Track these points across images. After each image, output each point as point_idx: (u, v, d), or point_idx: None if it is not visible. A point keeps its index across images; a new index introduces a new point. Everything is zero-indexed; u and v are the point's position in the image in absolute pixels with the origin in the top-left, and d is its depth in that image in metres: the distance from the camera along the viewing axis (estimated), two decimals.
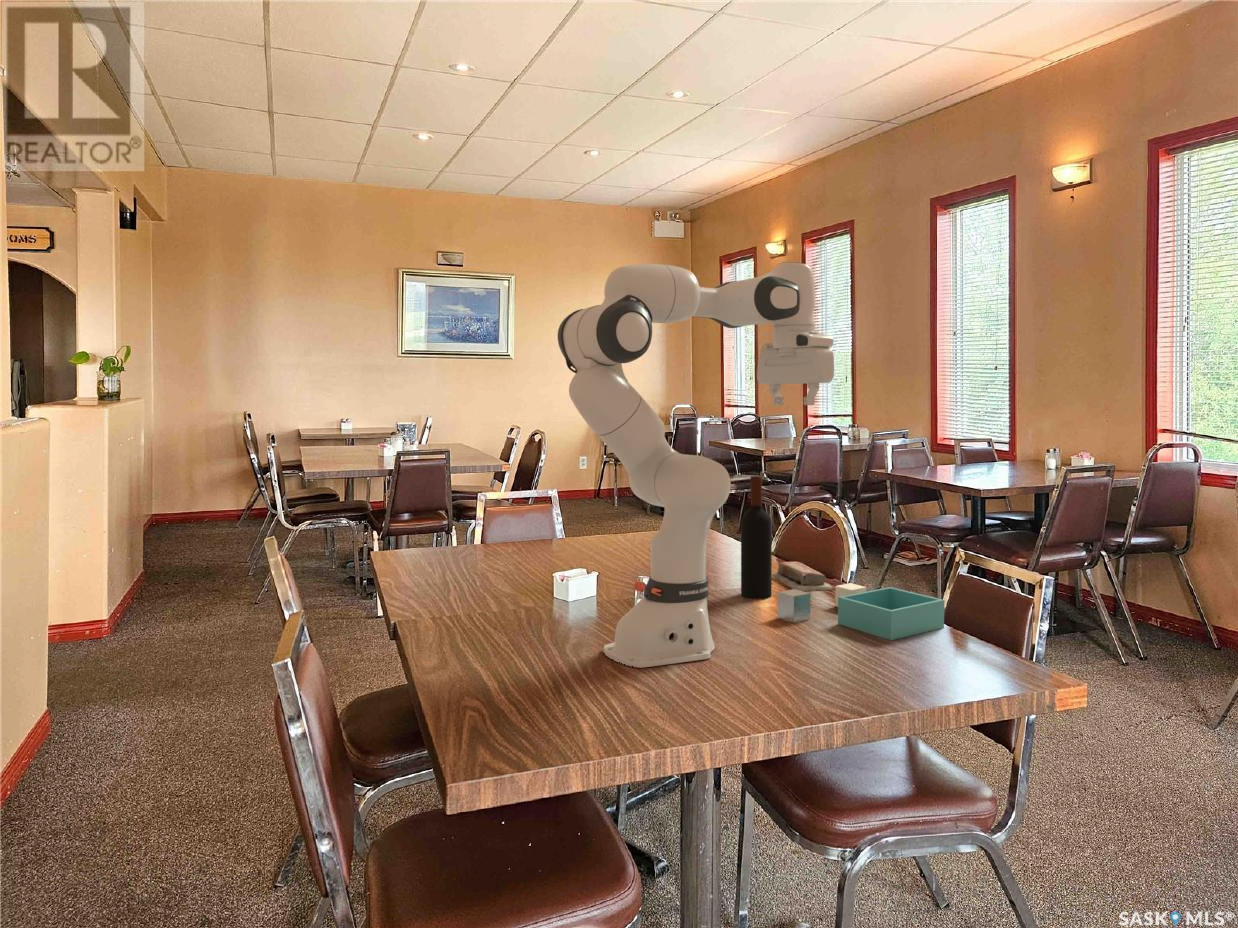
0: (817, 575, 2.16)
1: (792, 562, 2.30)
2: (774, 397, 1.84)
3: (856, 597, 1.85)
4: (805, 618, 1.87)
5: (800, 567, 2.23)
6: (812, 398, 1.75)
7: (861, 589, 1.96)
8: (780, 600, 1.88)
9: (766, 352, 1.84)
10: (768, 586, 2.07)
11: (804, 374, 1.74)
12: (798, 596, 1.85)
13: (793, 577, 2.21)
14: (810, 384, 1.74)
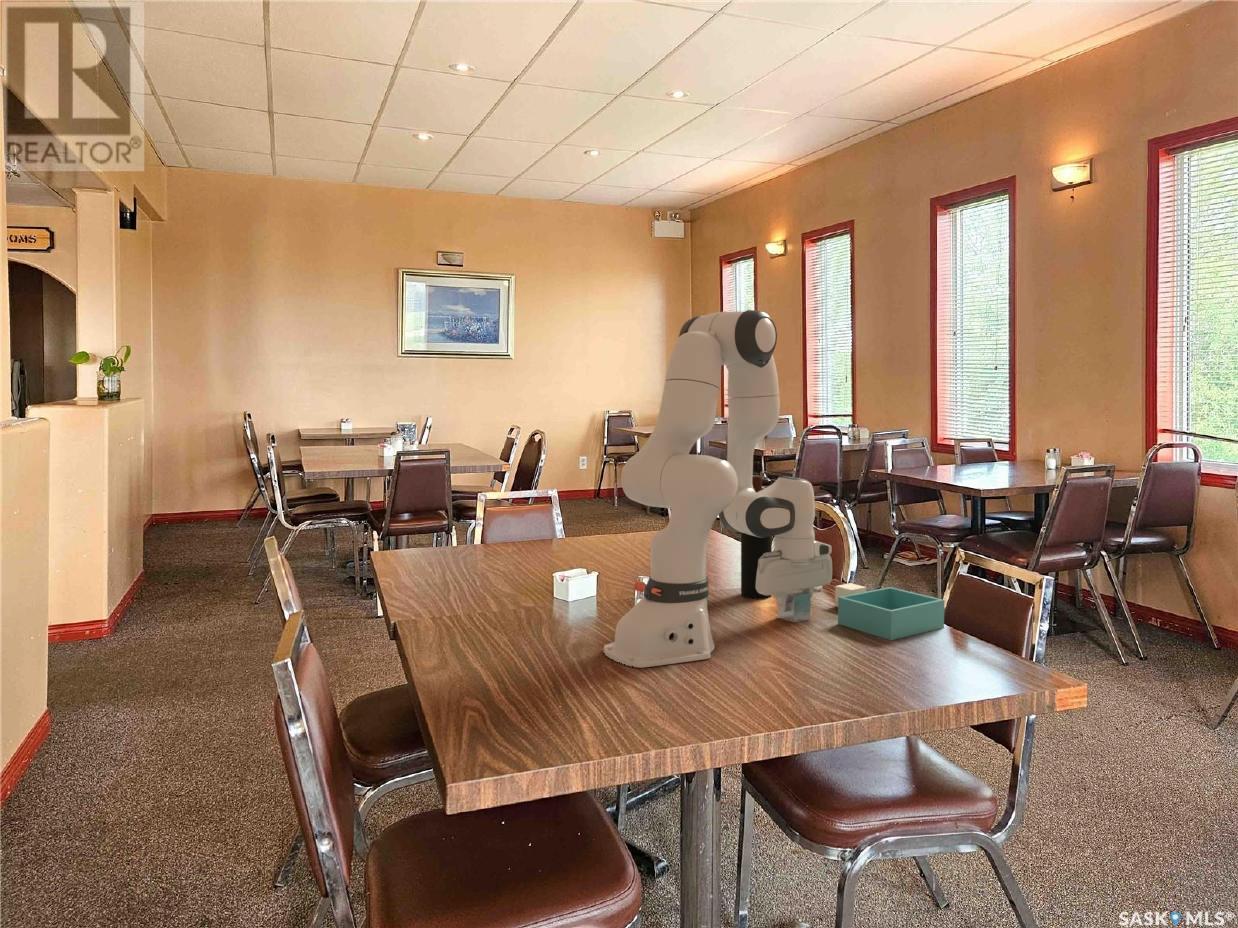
0: None
1: None
2: (785, 604, 1.86)
3: (856, 597, 1.85)
4: (805, 618, 1.87)
5: None
6: None
7: (861, 589, 1.96)
8: None
9: (777, 563, 1.82)
10: None
11: (816, 579, 1.89)
12: (798, 596, 1.85)
13: None
14: (812, 588, 1.89)
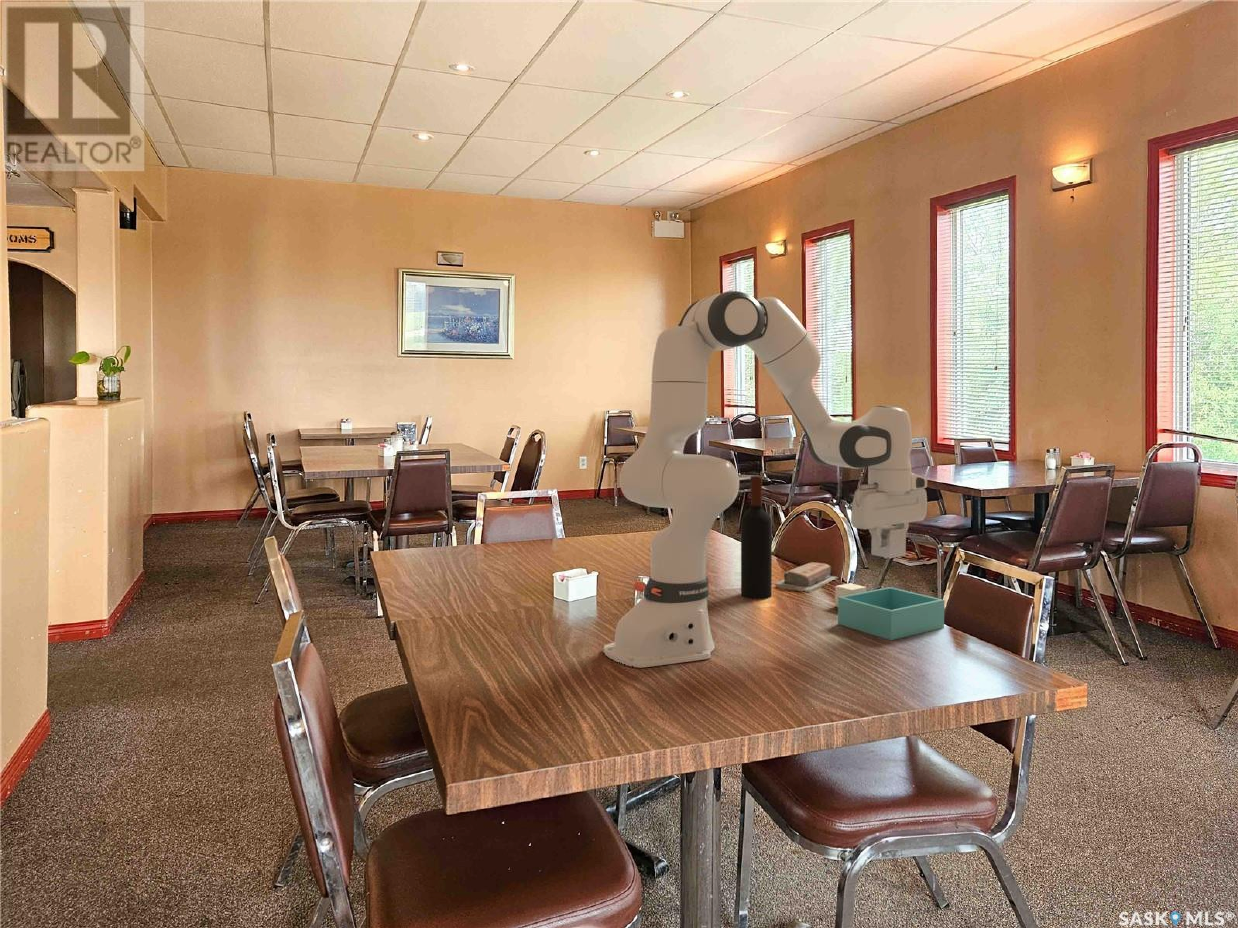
0: (799, 575, 2.16)
1: (819, 563, 2.27)
2: (881, 539, 1.78)
3: (856, 597, 1.85)
4: (901, 554, 1.79)
5: (807, 567, 2.23)
6: None
7: (861, 589, 1.96)
8: None
9: (874, 495, 1.74)
10: (768, 586, 2.07)
11: (912, 514, 1.81)
12: (894, 530, 1.78)
13: None
14: (907, 523, 1.82)
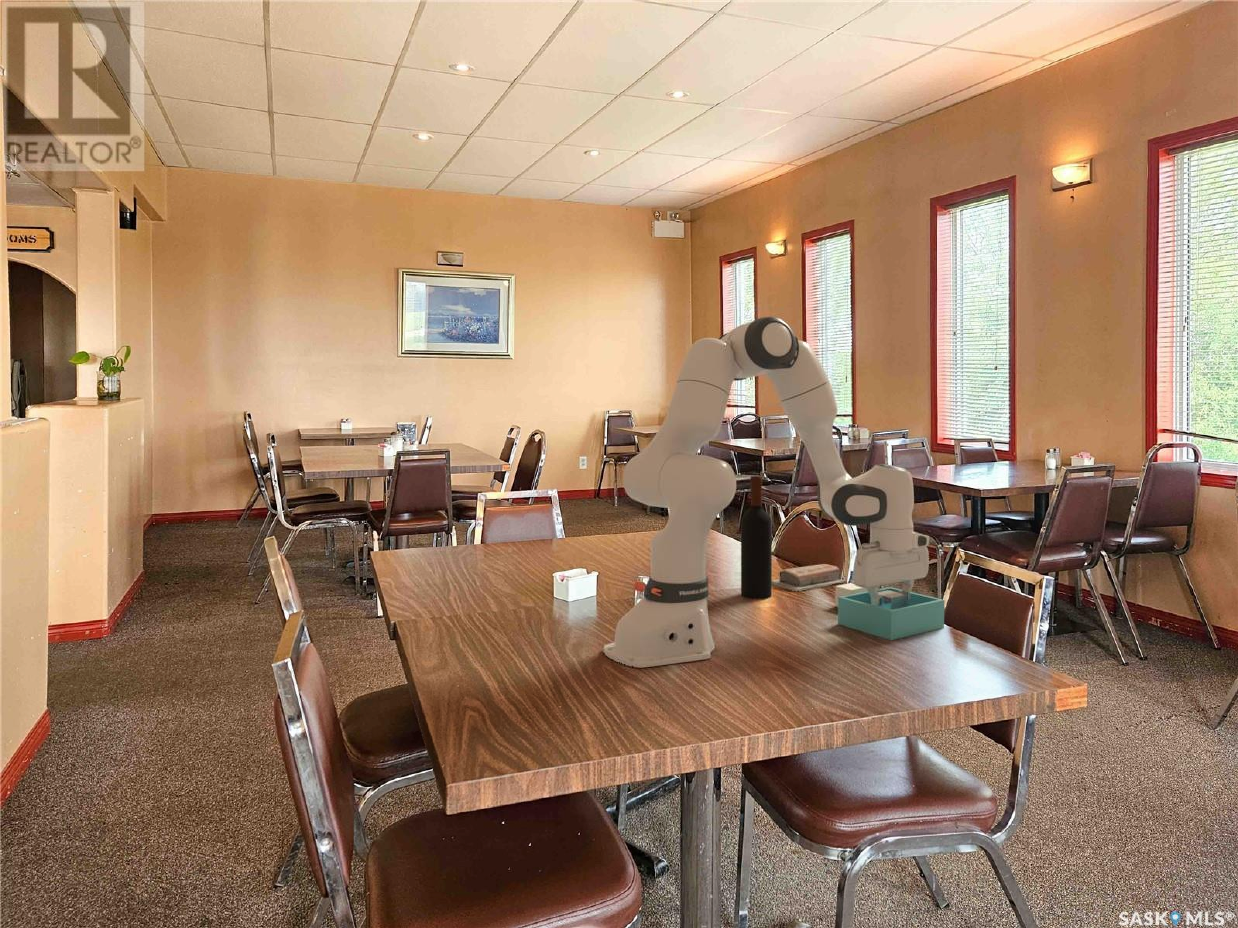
0: (791, 575, 2.17)
1: (828, 565, 2.25)
2: (878, 598, 1.78)
3: (856, 597, 1.85)
4: None
5: (810, 568, 2.22)
6: None
7: (861, 589, 1.96)
8: None
9: (876, 554, 1.75)
10: (768, 586, 2.07)
11: (913, 571, 1.82)
12: (895, 598, 1.78)
13: None
14: (912, 580, 1.83)
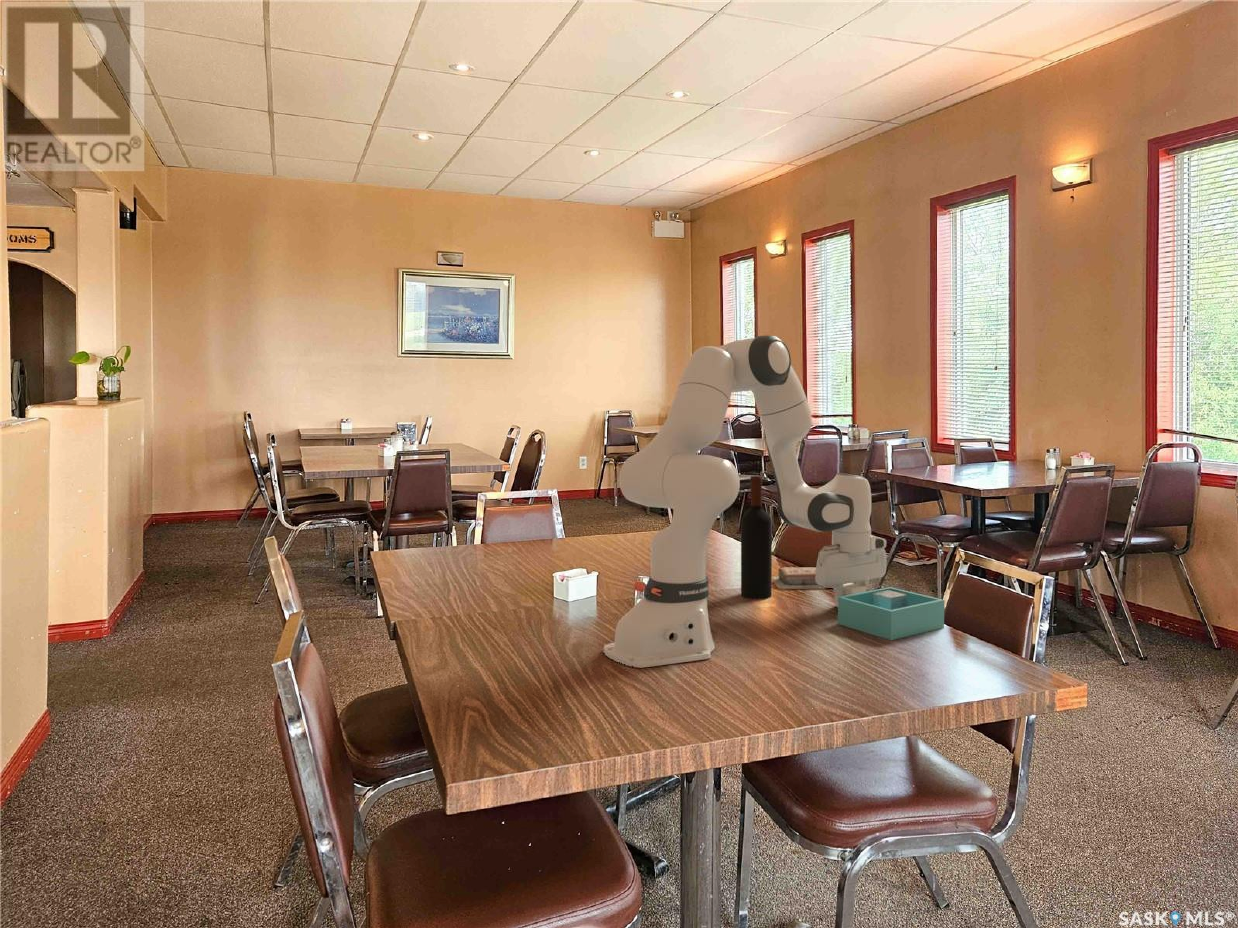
0: (782, 572, 2.19)
1: None
2: (843, 595, 1.95)
3: (856, 597, 1.85)
4: None
5: (811, 569, 2.21)
6: None
7: (861, 589, 1.96)
8: (874, 601, 1.81)
9: (836, 556, 1.92)
10: (768, 586, 2.07)
11: (872, 571, 1.98)
12: (895, 598, 1.78)
13: None
14: (867, 580, 1.99)
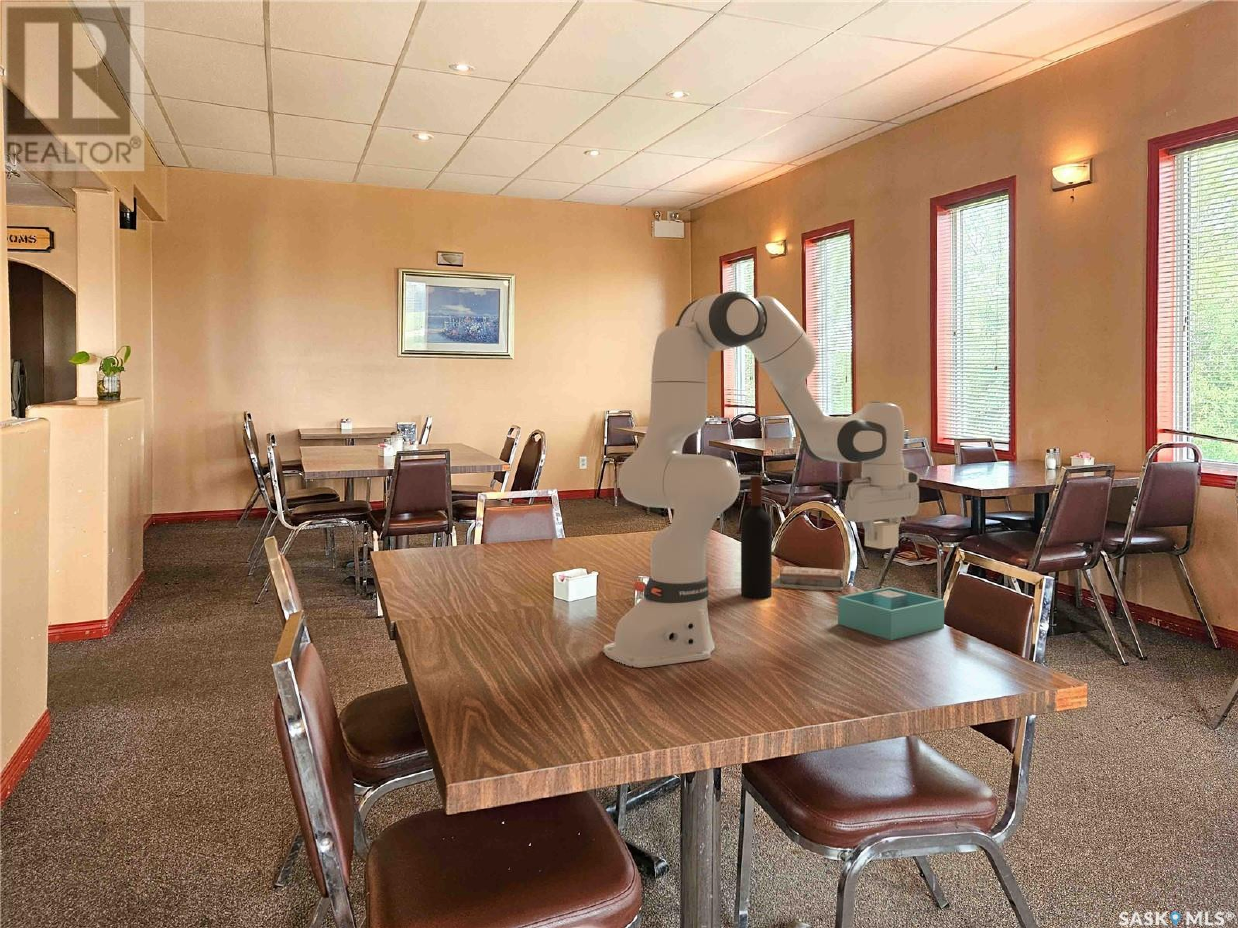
0: (780, 571, 2.21)
1: (835, 571, 2.17)
2: (873, 533, 1.81)
3: (856, 597, 1.85)
4: None
5: (811, 570, 2.20)
6: None
7: (893, 526, 1.82)
8: (874, 601, 1.81)
9: (867, 489, 1.78)
10: (768, 586, 2.07)
11: (904, 508, 1.84)
12: (895, 598, 1.78)
13: None
14: (899, 517, 1.85)
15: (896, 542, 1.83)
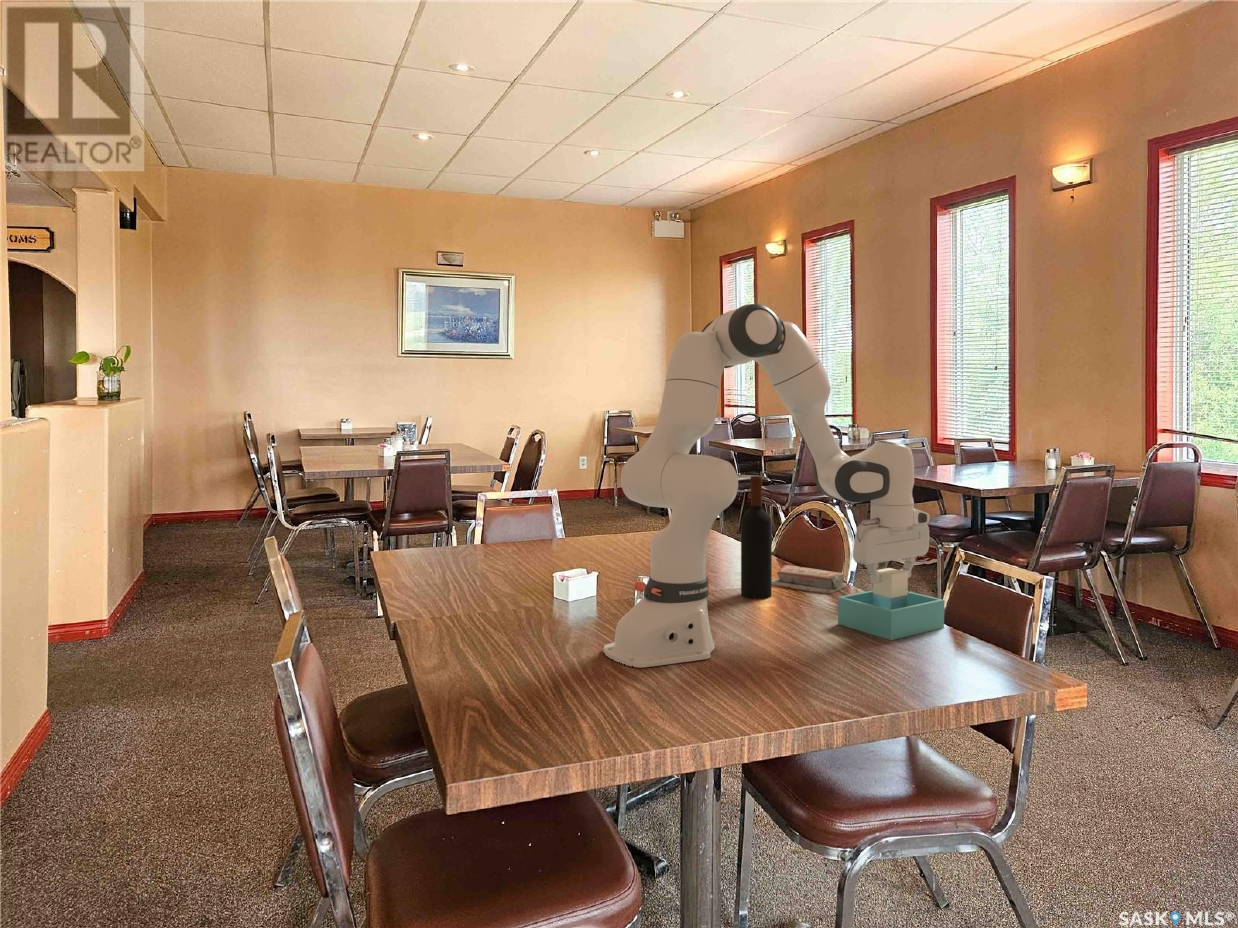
0: None
1: (831, 573, 2.15)
2: (878, 575, 1.77)
3: (856, 597, 1.85)
4: None
5: (809, 570, 2.19)
6: None
7: (902, 574, 1.79)
8: (874, 601, 1.81)
9: (876, 530, 1.75)
10: (768, 586, 2.07)
11: (914, 549, 1.81)
12: (895, 598, 1.78)
13: None
14: (914, 557, 1.83)
15: (906, 590, 1.80)
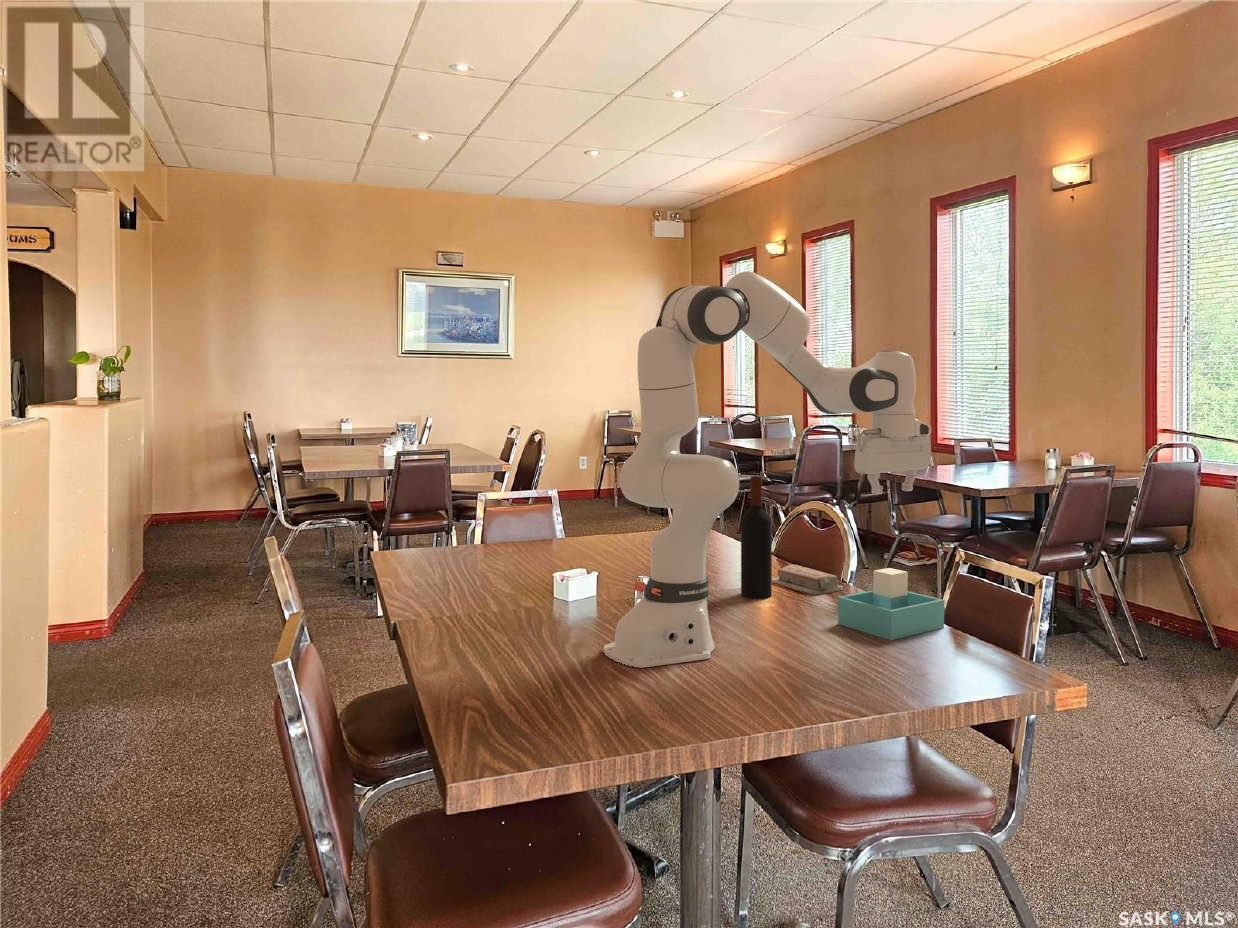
0: None
1: (823, 575, 2.13)
2: (879, 486, 1.76)
3: (856, 597, 1.85)
4: None
5: (807, 571, 2.19)
6: None
7: (902, 574, 1.79)
8: (874, 601, 1.81)
9: (877, 440, 1.73)
10: (768, 586, 2.07)
11: (915, 461, 1.80)
12: (895, 598, 1.78)
13: None
14: (915, 470, 1.81)
15: (906, 590, 1.80)
